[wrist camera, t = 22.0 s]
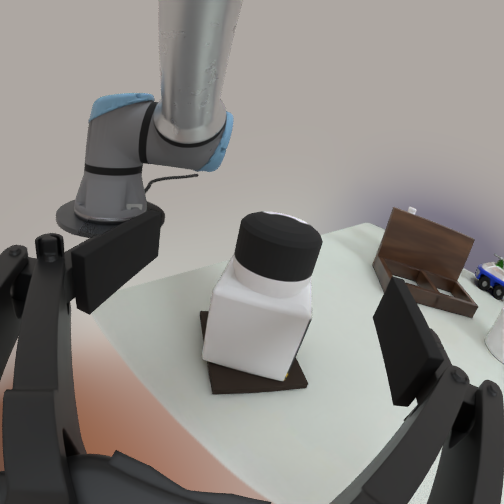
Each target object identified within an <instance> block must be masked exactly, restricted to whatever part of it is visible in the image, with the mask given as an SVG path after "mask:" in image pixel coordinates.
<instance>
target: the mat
mask: <svg viewBox="0 0 504 504" xmlns="http://www.w3.org/2000/svg"><path fill="white" fill-rule="evenodd" d="M208 314H209V311H200V320H201V327H202V333H203V340H204V339H205V332H206V326H207V320H208ZM207 364H208V370H209V376H210V381H211V387H212V392H213V394H236V393H255V392H269V391H281V390H291V389H300V388H306V387H307V385H308V382H307V380H306V378H305V376H304V374H303V372H302V370H301V368H300V366H299V363H298V361H297V359H296V357H295V360H294V362H293V364H292V366H291V369H290V371H289V373H288V375H287V378H286V379H285V380H284V381H279V380H274V379H270V378H266V377H262V376H258V375H254V374H250V373H247V372H243V371H239V370H236V369H232V368H229V367H225V366H222V365H219V364H215V363H212V362H209V361H207Z"/></svg>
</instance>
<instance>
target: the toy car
mask: <svg viewBox="0 0 504 504" xmlns="http://www.w3.org/2000/svg"><path fill="white" fill-rule="evenodd" d="M494 255H495V256H497V257H498V258H500V260H498V261H497V263H494V262H490V263H485V264H480V265H479V266H478V267H477V270H476V271H477V272H475V276H476V278H477V279H479V287H480V289H482V290H487V289H488V288H489V287H490V286H492V287H493V294H494V297H495V298H496V299H501V298H502V297H503V296H504V268H503V266H504V264H503V262H504V259H503V258H502V257H499V256H498V255H496V254H494Z"/></svg>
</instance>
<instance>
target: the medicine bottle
mask: <svg viewBox="0 0 504 504" xmlns="http://www.w3.org/2000/svg"><path fill="white" fill-rule="evenodd" d="M321 246H322V238H321V236H320V234H319V233H318V231H316V230H315V229H314V228H313V227H312V226H311V225H309V224H308V223H306V222H305V221H303V220H301V219H298V218H295V217H293V216H290V215H286V214H282V213H277V212H268V211H266V212H265V211H263V212H257V213H251V214H249V215H247V216H246V217H244V218H243V219H242V220H241V224H240V229H239V234H238V239H237V244H236V248H235V253H234V255H233V257H232V258H231V260H230V262H229V263H228V265H227V267H226V268H225V270H224V272H223V273H222V275H221V277H220V279H219V280H218V282H217V284H216V285H215V287H214V289H213V291H212V296H211V302H210V308H209V314H208V320H207V326H206V332H205V339H204V345H203V351H202V358H203V360H206V361H209V362H212V363H215V364H219V365H222V366H225V367H229V368H232V369H236V370H239V371H243V372H247V373H250V374H254V375H258V376H262V377H266V378H270V379H274V380H279V381H284V380H285V379H286V378H287V375H288V373H289V371H290V369H291V366H292V364H293V362H294V360H295V357H296V355H297V353H298V350H299V348H300V346H301V343H302V341H303V339H304V336H305V334H306V331H307V329H308V327H309V324H310V322H311V319H312V287H311V276H312V273H313V270H314V267H315V264H316V261H317V258H318V255H319V252H320V249H321Z"/></svg>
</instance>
